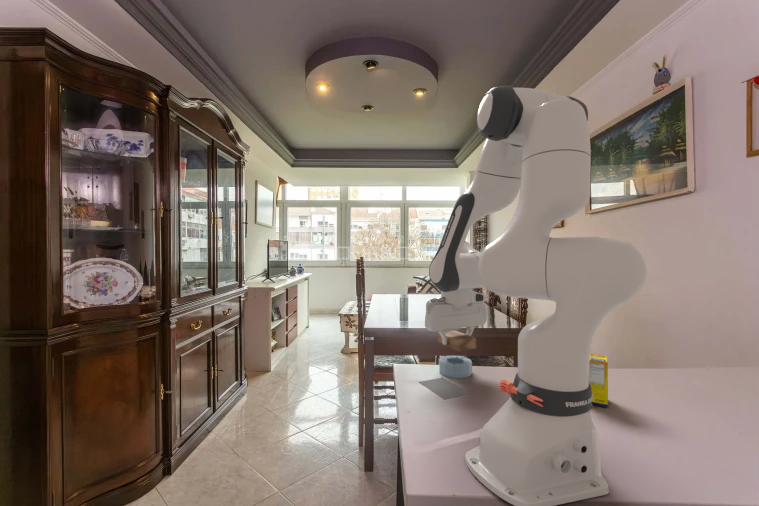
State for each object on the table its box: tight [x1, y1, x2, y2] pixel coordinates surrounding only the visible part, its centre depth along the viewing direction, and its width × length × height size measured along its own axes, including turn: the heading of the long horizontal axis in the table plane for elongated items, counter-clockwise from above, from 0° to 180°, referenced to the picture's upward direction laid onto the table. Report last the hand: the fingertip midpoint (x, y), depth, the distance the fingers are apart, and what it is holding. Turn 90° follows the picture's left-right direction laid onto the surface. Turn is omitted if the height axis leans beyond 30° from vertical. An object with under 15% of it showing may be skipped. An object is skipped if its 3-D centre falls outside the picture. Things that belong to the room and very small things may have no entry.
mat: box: [418, 377, 471, 400], centre depth 88 cm, size 8×12×1 cm, turn 25°
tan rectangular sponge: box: [437, 329, 477, 352], centre depth 100 cm, size 6×10×3 cm, turn 24°
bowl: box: [438, 355, 473, 379], centre depth 100 cm, size 9×9×4 cm
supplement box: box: [589, 353, 609, 409], centre depth 83 cm, size 6×6×11 cm
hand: (456, 342), depth 100 cm, fingers closed on tan rectangular sponge, 6 cm apart
